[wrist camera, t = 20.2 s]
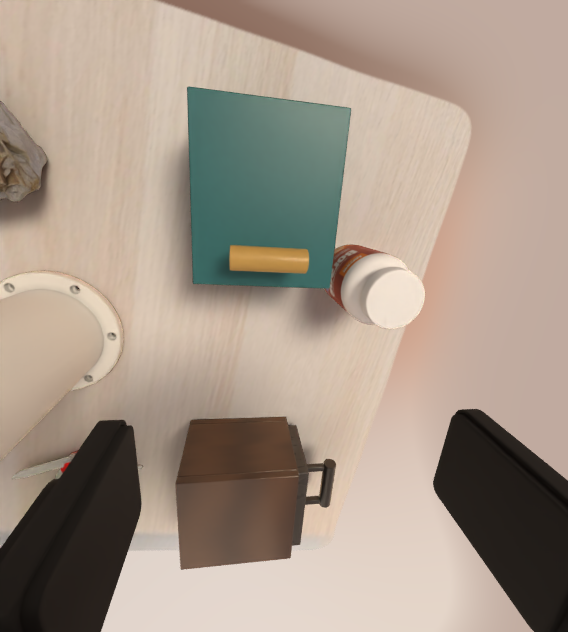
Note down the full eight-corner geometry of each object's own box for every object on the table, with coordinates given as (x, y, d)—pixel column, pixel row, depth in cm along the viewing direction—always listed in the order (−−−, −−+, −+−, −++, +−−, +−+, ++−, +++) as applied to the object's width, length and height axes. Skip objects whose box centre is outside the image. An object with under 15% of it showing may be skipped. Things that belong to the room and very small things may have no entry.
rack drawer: (328, 423, 38) (347, 470, 31) (319, 486, 41) (335, 541, 34) (209, 428, 35) (202, 479, 29) (210, 494, 39) (204, 554, 32)
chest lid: (327, 286, 24) (345, 302, 20) (194, 281, 23) (183, 297, 19) (347, 111, 21) (376, 84, 16) (189, 90, 19) (173, 54, 15)
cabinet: (286, 416, 37) (299, 476, 29) (280, 487, 41) (290, 558, 33) (190, 419, 36) (175, 483, 27) (193, 493, 39) (180, 570, 31)
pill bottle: (332, 235, 31) (379, 245, 21) (382, 255, 32) (449, 275, 22) (310, 289, 33) (342, 325, 22) (358, 307, 34) (410, 347, 24)
